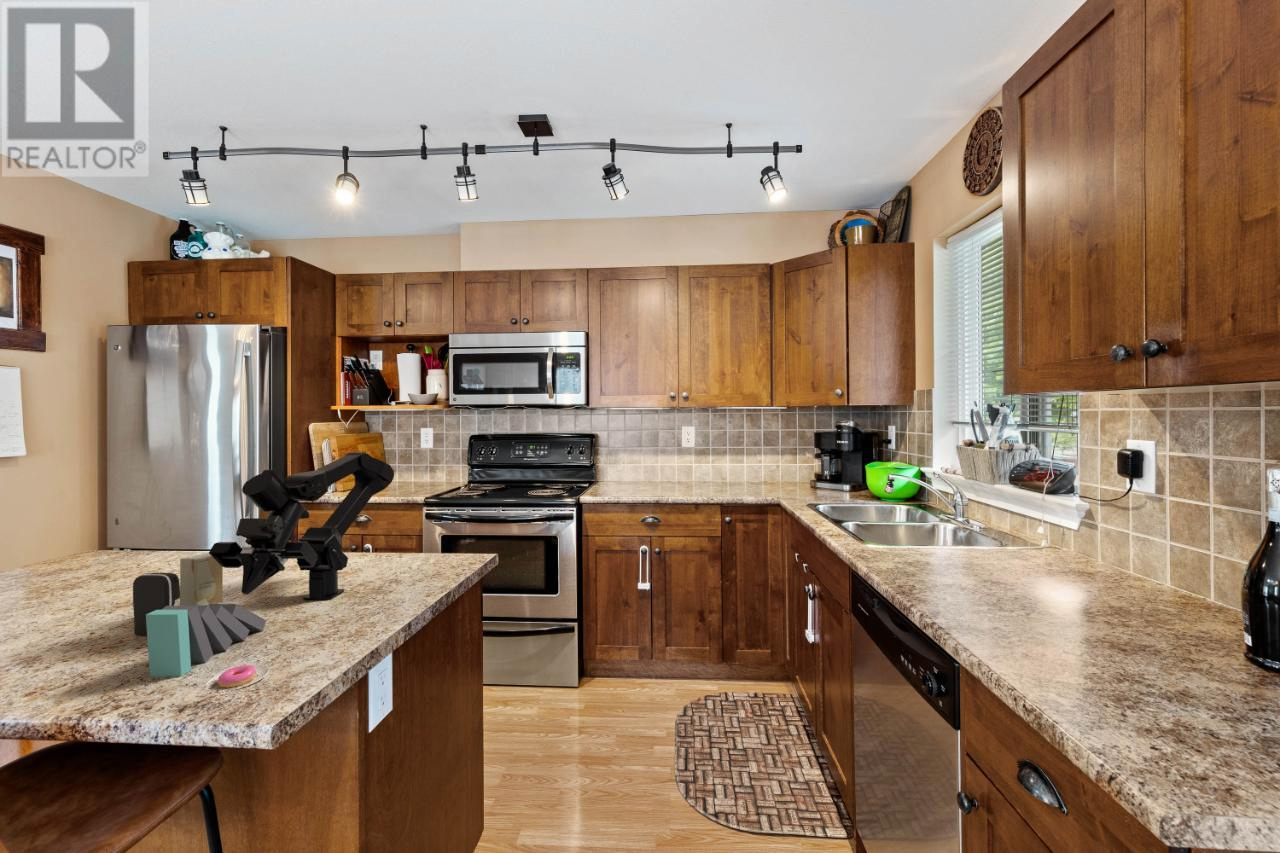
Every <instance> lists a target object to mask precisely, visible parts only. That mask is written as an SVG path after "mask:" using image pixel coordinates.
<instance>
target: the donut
mask: <svg viewBox="0 0 1280 853" xmlns="http://www.w3.org/2000/svg"><path fill="white" fill-rule="evenodd" d="M269 672H270V668H269V667H268V665H266V664H263V663H261V664H260V663H252V664H246V665H239V666H234V667H232V668H229V669H226V670H224V671H223V672H221V673H218V674H216V675H214V676H213V677H211V678H210V679H209V680H208V681H207V682H206V683H205V685H204V687H205V686H206V685H207V684H208V683H209V684H210V683H212V682H213V681H215V680H217V685H218V686H219V687H220V688H223V687H227V688H226V689H229V690H228V692H232V690H233V691H237V690H241V689H244V688H247V687H249V686H252V685H253V684H256V683H257V682H259V681H260V680H262V679H264V677H266V676H267V675H268V673H269ZM256 674H258V675H260V676H259V677H260V678H259V679H258V678H257V679H258V680H257V679H256V680H257V681H256V680H255V681H253V680H254V679H255V677H256V676H255V675H256ZM217 678H218V679H217ZM214 679H215V680H214ZM212 680H213V681H212ZM211 681H212V682H211ZM251 681H253V682H252V683H250V682H251ZM245 683H246V684H245ZM248 683H249V684H248ZM209 684H208V685H209ZM243 684H244V685H243ZM208 685H207V686H208ZM239 685H241V686H239ZM207 686H206V687H207ZM235 686H237V688H236V687H235ZM229 687H231V688H235V689H230V688H229ZM243 687H244V688H243ZM236 689H237V690H236ZM223 691H224V690H223ZM223 691H221V693H224V692H223Z"/></svg>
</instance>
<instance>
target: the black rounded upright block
mask: <svg viewBox="0 0 1280 853" xmlns="http://www.w3.org/2000/svg"><path fill="white" fill-rule="evenodd" d="M178 599H179V600H180V577H179V576H178V575H177V574H176V573H173V572H150V573H146V574H142V575H138V576H137V577H135V578H134V580H133V583H132V605H133V607H132V609H133V628H134V631H133V635H135V636H147V624H146V614H148V613H151V612H153V611H155V610H162V609H163V608H164V607H166V606H175V604H176V601H177V600H178Z"/></svg>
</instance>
